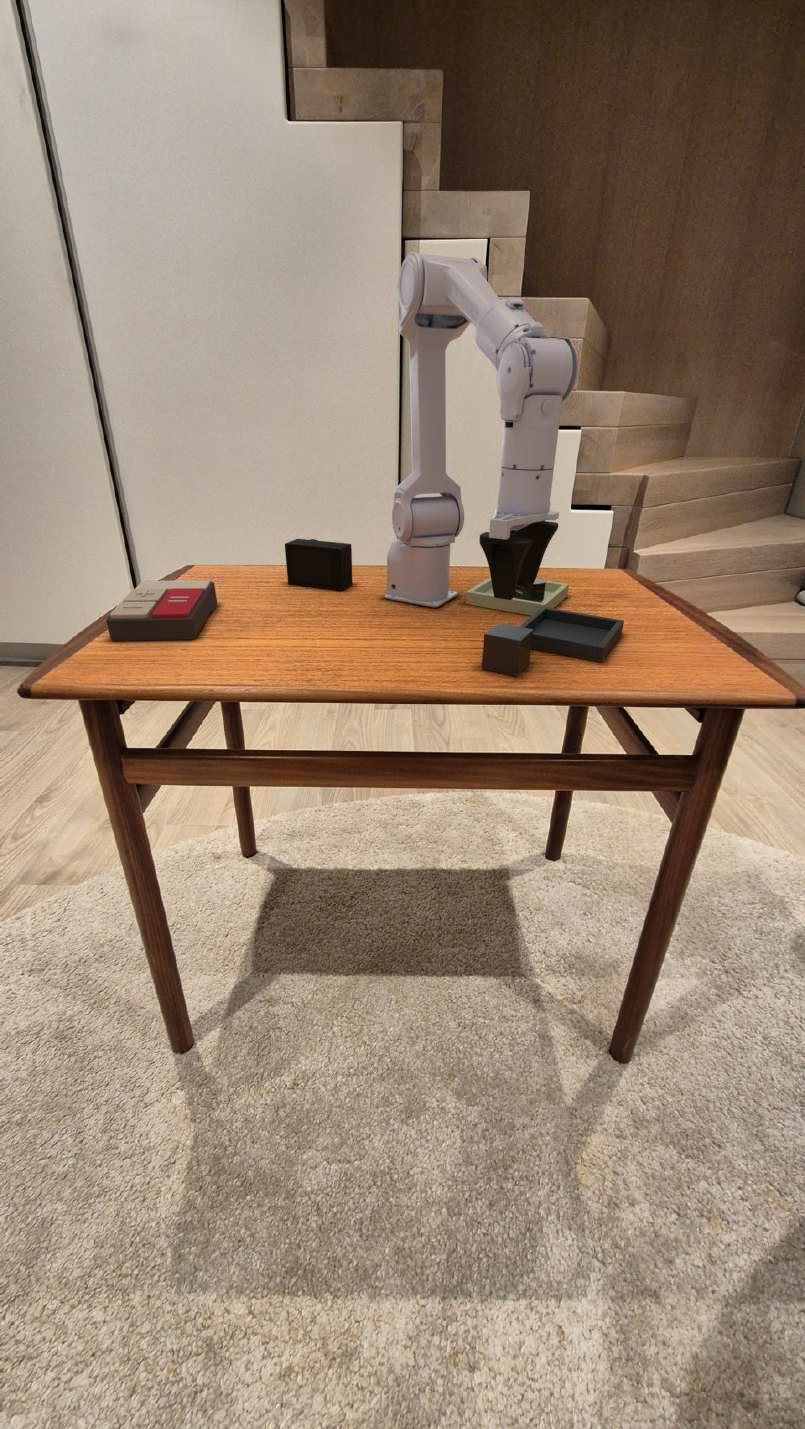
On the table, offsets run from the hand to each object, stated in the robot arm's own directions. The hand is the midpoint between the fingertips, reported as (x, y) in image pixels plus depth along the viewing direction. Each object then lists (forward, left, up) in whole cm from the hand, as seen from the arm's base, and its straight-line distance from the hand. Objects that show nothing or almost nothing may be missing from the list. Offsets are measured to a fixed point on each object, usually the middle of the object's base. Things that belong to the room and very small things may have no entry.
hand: (514, 590), depth 72 cm
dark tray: (+5, +10, -9) cm, 14 cm away
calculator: (-46, -13, -9) cm, 49 cm away
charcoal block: (+1, -3, -9) cm, 9 cm away
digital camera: (-39, +14, -9) cm, 42 cm away
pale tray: (-7, +23, -9) cm, 25 cm away
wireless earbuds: (-7, +22, -8) cm, 25 cm away
